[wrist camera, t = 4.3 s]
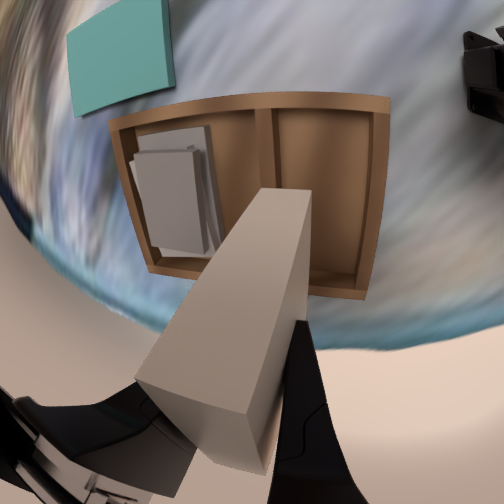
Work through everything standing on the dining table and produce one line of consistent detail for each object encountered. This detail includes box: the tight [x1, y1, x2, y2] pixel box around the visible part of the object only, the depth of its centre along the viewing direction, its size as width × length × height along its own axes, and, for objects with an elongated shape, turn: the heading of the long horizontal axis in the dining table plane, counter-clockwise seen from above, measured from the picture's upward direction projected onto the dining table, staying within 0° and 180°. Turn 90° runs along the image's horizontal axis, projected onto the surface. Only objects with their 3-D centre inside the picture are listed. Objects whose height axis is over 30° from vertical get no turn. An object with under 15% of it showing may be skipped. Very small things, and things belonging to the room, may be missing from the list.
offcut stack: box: [129, 125, 225, 257], centre depth 20 cm, size 6×11×3 cm, turn 5°
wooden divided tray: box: [108, 92, 390, 300], centre depth 20 cm, size 20×15×3 cm
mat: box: [67, 0, 176, 118], centre depth 16 cm, size 12×10×1 cm
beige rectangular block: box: [134, 188, 312, 476], centre depth 9 cm, size 2×7×8 cm, turn 5°
